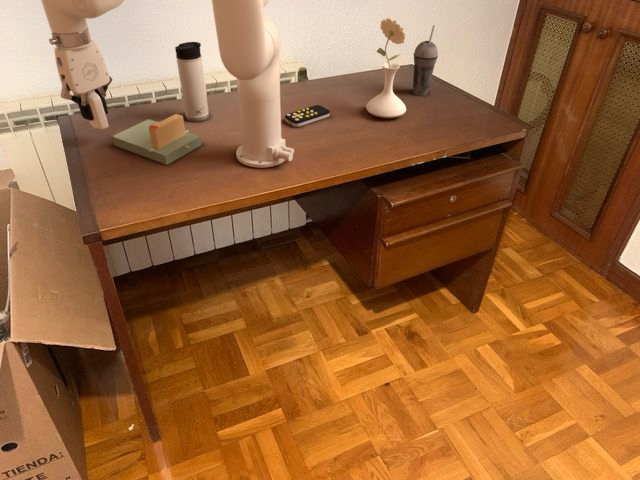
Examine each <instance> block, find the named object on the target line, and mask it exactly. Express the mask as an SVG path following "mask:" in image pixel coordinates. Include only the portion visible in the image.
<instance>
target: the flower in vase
mask: <svg viewBox="0 0 640 480" xmlns="http://www.w3.org/2000/svg"><path fill="white" fill-rule="evenodd" d="M379 28H380V30H381V31H382V34H383V35H384V37H385V38H387V40H386V43H385V45H384V46H385V47H384V49H383V48H382V47H379V48H378V49H377V50H376V53H378V54H380V55H381V56H382V57H385V58H386V60H387V62H382V63H381V68H382V69H383V72H384V87H383V90H382V91H381V93H379V94H378V95H375V96H374V97H373V98H371V99H370V100H368V102H367V104H366V105H365V108H366V110H367V112H368V113H369V114H371V115H372V116H375V117H378V118H381V119H394V118H399V117H401V116H403V115H404V114H405V113H406V111H407V107H406V104H405V103H404V102H403V101H402V100H401V99H400V98H399V96H397V95H396V94H395V93H394V90H393V89H394V88H393V85H394V79H395V76H396V73H397V71H398V70H399V69H400V67H401V65H400V64H399V63H396V62H393V60H394V59H396V58H398V57H399V56H400V55H401V54H400V53H399V54H396V55H393V56H391V57H390V58H389V57H388V54H387V47H388V44H389V41H391V43H393V44H395V45H402V44H404V43H405V40H406V34H405V32H404V28H403V27H401V25H400V24H399V23H397V20H392V19H391V18H388V17H386V18H385V19H382V20H381V21H380V26H379ZM390 61H391V62H390Z"/></svg>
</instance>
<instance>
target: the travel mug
mask: <svg viewBox="0 0 640 480" xmlns="http://www.w3.org/2000/svg"><path fill="white" fill-rule="evenodd" d="M201 47H202V44H201V42H198V41H187V42H183V43H179V44H178V45H177V46H175V47H174V49H175V57H176V58H175V59H176V64H177V69H178V76H179V83H180V89H181V94H182V100H183V101H182V102H183V108H184V114H185V118H186V120H188V121H189V122H195V123H196V122H197V123H199V122H203V121H206V120H207V119H208V118H209V116H210V113H209V105H208V97H207V90H206V83H205V75H204V66H203V59H202V54H201Z"/></svg>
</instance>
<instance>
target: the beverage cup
mask: <svg viewBox="0 0 640 480" xmlns="http://www.w3.org/2000/svg"><path fill="white" fill-rule="evenodd" d="M435 28H436V27H435V25H434V24H433V25H432V28H431V32H430V35H429V40H424V41H421V42H419V43H418V44H417V46H416V47H415V49H414V52H413V76H412V77H413V78H412V79H413V80H412V82H413V83H412V94H413V95H416V96H427V95H428V91H429V90H430V89H429V88H430V85H431V82H432V76H433V73H434V69H435V65H436V63H437V60H438V57H439V55H438V53H439V52H438V47H437V45H436V44H435V43H434V42H432V38H433V34H434V31H435Z"/></svg>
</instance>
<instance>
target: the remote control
mask: <svg viewBox="0 0 640 480" xmlns="http://www.w3.org/2000/svg"><path fill="white" fill-rule="evenodd" d="M330 115H331V111H330V110H329V108H326V107H324V106H322V105H319V104H315V105H312V106H309V107H306V108H302V109H298V110H297V111H296V110H295V111H291V112H289V113H287V114H285V116H284V121H285V122H286V123H287V124H289V125H291V126H292V127H295V128H301V127H304V126H306V125H309V124H312V123H315V122H318V121H321V120H324V119H328V118H329V117H330Z"/></svg>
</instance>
